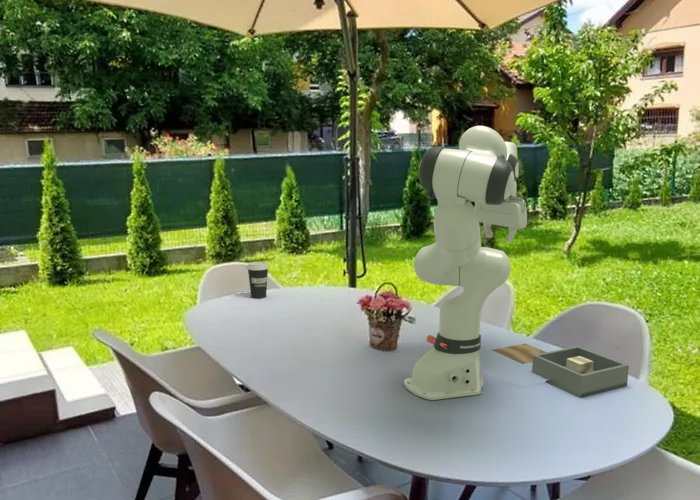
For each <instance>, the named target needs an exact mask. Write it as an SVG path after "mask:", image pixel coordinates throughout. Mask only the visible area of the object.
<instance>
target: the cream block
mask: <svg viewBox="0 0 700 500" xmlns="http://www.w3.org/2000/svg"><path fill="white" fill-rule="evenodd" d="M566 368H568V369H571V370H573V371H575V372H578V373H580V374H586V373H590V372H593V361H591V360H589V359H586V358H584V357H581V356H577V357H572V358H567V363H566Z"/></svg>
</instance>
